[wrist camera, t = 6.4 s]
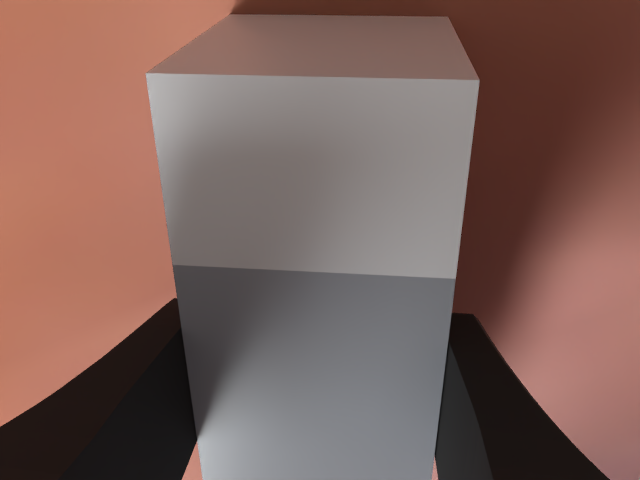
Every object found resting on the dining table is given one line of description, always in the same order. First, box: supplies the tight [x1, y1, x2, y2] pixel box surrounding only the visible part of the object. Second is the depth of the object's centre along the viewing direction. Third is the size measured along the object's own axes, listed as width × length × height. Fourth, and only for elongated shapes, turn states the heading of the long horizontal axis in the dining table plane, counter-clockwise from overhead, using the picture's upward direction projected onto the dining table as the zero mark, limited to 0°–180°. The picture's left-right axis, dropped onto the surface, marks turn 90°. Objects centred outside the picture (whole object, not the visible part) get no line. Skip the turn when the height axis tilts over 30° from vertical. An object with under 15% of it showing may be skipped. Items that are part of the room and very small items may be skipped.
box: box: [146, 14, 480, 480], centre depth 13 cm, size 4×11×5 cm, turn 0°
